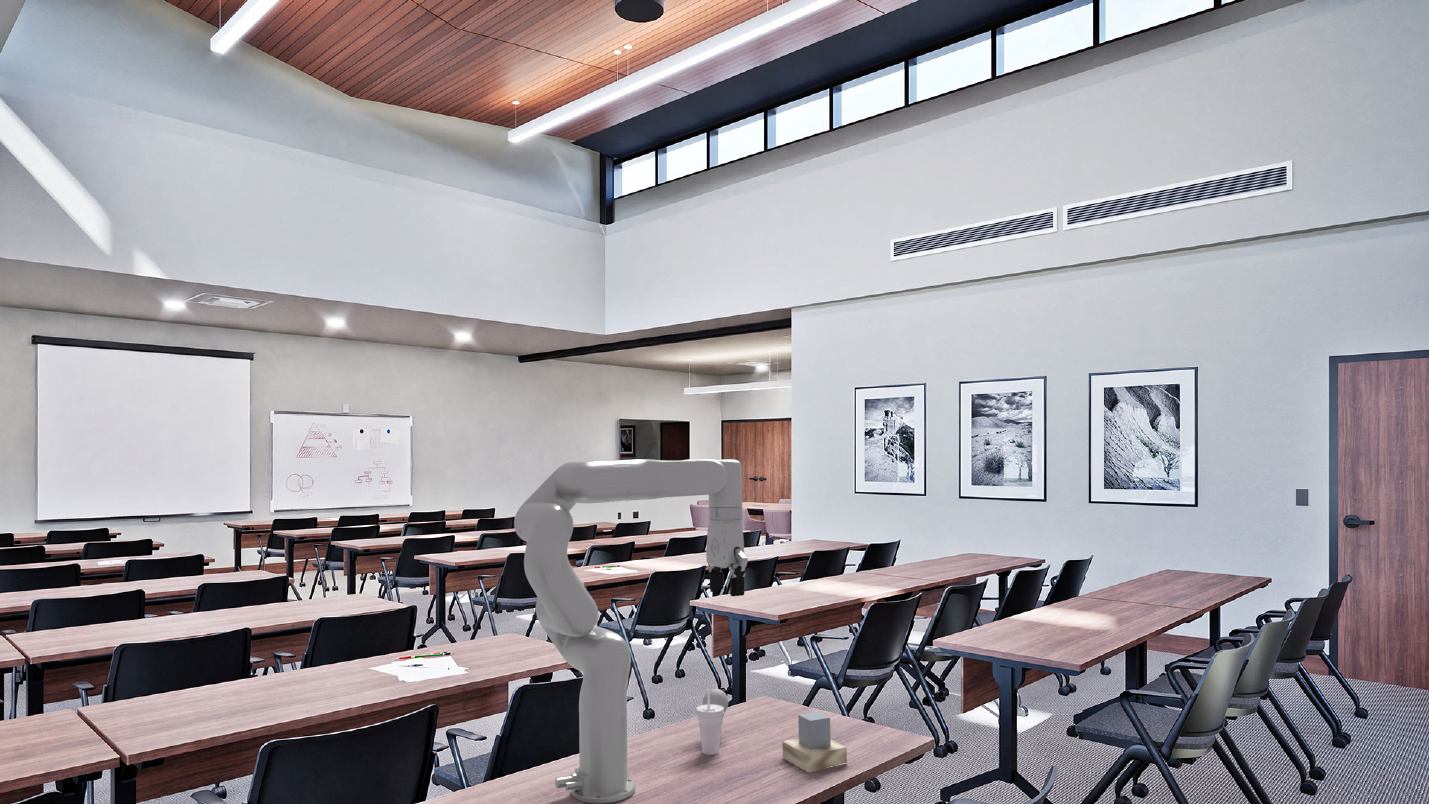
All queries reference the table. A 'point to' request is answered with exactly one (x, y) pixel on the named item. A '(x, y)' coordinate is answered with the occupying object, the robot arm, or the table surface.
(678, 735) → the table surface
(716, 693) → the lightbulb
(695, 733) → the table surface
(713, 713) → the smoothie
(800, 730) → the grey block
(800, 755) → the maple block
